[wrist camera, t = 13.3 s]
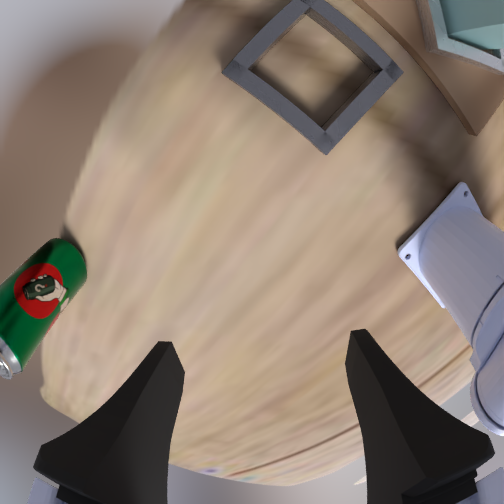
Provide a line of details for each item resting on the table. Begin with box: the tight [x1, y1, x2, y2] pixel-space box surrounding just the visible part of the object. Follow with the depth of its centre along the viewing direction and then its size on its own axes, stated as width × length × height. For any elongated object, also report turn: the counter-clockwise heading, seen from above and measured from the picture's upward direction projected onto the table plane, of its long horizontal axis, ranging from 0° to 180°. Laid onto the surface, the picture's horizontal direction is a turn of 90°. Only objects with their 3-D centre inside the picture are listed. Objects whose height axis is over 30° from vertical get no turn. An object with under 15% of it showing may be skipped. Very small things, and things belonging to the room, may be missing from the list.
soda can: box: [0, 238, 87, 379], centre depth 16 cm, size 5×5×12 cm
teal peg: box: [439, 0, 504, 50], centre depth 6 cm, size 4×4×8 cm
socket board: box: [352, 0, 504, 136], centre depth 9 cm, size 14×12×2 cm
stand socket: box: [222, 0, 404, 155], centre depth 13 cm, size 8×8×2 cm
